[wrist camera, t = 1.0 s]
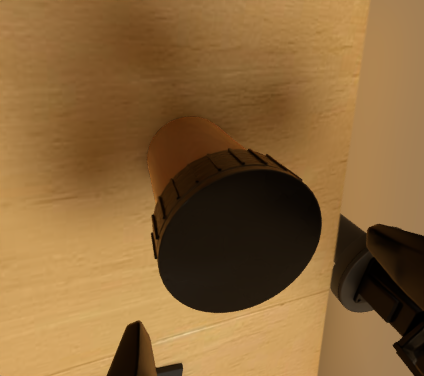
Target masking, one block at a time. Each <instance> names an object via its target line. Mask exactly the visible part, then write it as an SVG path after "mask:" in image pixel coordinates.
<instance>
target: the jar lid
mask: <svg viewBox="0 0 424 376" xmlns="http://www.w3.org/2000/svg"><path fill="white" fill-rule="evenodd" d="M186 165H187V166H186V167H184V168H183V169H182V170H181V171H179V172H178V173H177V174H176V175H175V176H174V177H173V178H170V182H169V183H168V184H167V186H166V187H165V188H164V190H163V192H162V193H161V195H160V196H158V202H157V204H156V207H155V211H154V214H153V215H152V216H151V218H152V227H153V233H151V237H152V244H153V250H154V257H155V259H157V262H158V268H159V273H160V276H161V279H162V281H163V284H164V285H165V287H166V288H167V290H168V291H169V292H170V293H171V294H172V296H173V297H174V298H176V299H177V300H178V301H179V302H181V303H182V304H184V305H186V306H188V307H190V308H193V309H196V310H199V311H204V312H211V313H227V312H235V311H239V310H244V309H247V308H250V307H253V306H256V305H258V304H261V303H263V302H265V301H267V300H269V299H270V298H272V297H274V296H275V295H277V294H278V293H280V292H281V291H282V290H284V289H285V288H286V287H288V286H289V285H290V284H291V283H292V282H293V281H294V280H295V279H296V278H297V277H298V276H299V275H300V274H301V273H302V271H303V270H304V269H305V268H306V266H307V265H308V263H309V262H310V260H311V258H312V256H313V254H314V253H315V250H316V248H317V245H318V242H319V239H320V235H321V227H322V217H321V211H320V207H319V204H318V201H317V199H316V197H315V196H314V194H313V192H312V191H311V190H310V189H309V187H308V186H307V185H306V184H304V183H303V182H302V179H301V178H299V177H298V176H297V175H295V174H294V173H293V172H291V171H290V170H288V169H287V168H286V167H284V166H283V165H282V164H280V163H279V162H277V161H276V160H275V159H273V158H272V157H271V156H269V155H268V154H266V155H263V154H261V153H258V152H254V151H253V150H251V149H248V150H242V149H231V148H228V150H223V151H218V152H214V153H211V154H209V153H207V154H206V155H205V156H203V157H201V158H199V159H197V160H195V161H193V162H191V163H190V164H189V163H188V164H186Z"/></svg>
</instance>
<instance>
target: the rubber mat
mask: <svg viewBox="0 0 424 376" xmlns="http://www.w3.org/2000/svg"><path fill="white" fill-rule="evenodd" d="M156 372H157V376H182V372H183V366H182V364H177V365H172V366H167V367H162V368H158V369H156Z"/></svg>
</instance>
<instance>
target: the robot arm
mask: <svg viewBox="0 0 424 376" xmlns="http://www.w3.org/2000/svg"><path fill="white" fill-rule="evenodd" d="M366 245H367V248H368V250H369V251H370V252H371V254H372V255H373V256H374V257H373V258H371V259H370V261H369V263H368V266H367V268H366V270H365V272H364V275H363V277H362V279H361V282H360V284H359V286H358V289H357V291H356V293H355V295H354V298H353V301H354V302H355V303H356V304H358V303H364V302H367V303H368V304H369V305H370V306H371V307H372V308H373V309H374V310H375V311H376V312H377V313H378V314H379V315H380V316H381V317H382V318H383V319H384V320H385V321H386V322H387V323H390V324H391V325H392V326H393V327H394V328H395V329H396V330H397V331H398V332H399V334H401V336H402V338H401V339H400V340H399V341H398V342H396V343H394V345H393V347H394V348H395V349H396V351H397V352H396V353H397V354H398V356H399V357H400V358H401V359H402V360H403V362H404V363H405V364H406V366H408V368H409V370H410V371H411V372H412V373H413V375H414V376H424V236H422V235H418V234H415V233H411V232H407V231H404V230H400V229H397V228H393V227H390V226H386V225H382V224H376V225H374V226H371V227H369V228H368V230H367V242H366ZM107 376H157V372H156V367H155V361H154V356H153V350H152V345H151V340H150V337H149V334H148V333H147V331H146V329H145V327H144V326H143V324H142V322H141V321H136V322H133V323H131V324H129V325H127V327H126V329H125V331H124V334H123V336H122V339H121V341H120V344H119V346H118V349H117V351H116V354H115V356H114V359H113V361H112V364H111V366H110V369H109V371H108V374H107Z"/></svg>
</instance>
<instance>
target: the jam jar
mask: <svg viewBox="0 0 424 376" xmlns="http://www.w3.org/2000/svg"><path fill="white" fill-rule="evenodd" d="M228 148H231V149H242V150H246V149H245V148H244V147H243V146H241V145H240V144H239V143H238V142H237V141H235V140H234V139H233V138H232V137H230V136H229V135H228V134H227V133H226V132H224V131H223V130H222V129H221V128H219V127H218V126H217V125H216V124H214V123H213V122H211V121H209V120H207V119H204V118H201V117H194V116H188V117H182V118H178V119H175V120H173V121H171V122H169V123H167V124H166V125H164V126H163V127H162V128H161V129H160V130H159V131H158V132H157V133H156V135H155V136H154V137H153V139H152V141H151V143H150V146H149V149H148V153H147V165H148V170H149V174H150V179H151V184H152V189H153V193H154V198H155V203H156V204H157V202H158V196H160V195H161V193H162V192H163V190H164V188H165V187H166V186H167V184H168V183H169V182H170V178H173V177H174V176H175V175H176V174H177V173H178V172H179V171H181V170H182V169H183V168H184V167H186V166H187V165H186V164H188V163H189V164H190V163H191V162H193V161H195V160H197V159H199V158H201V157H203V156H205V155H206V154H207V153H209V154H211V153H214V152H218V151H223V150H228Z"/></svg>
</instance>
